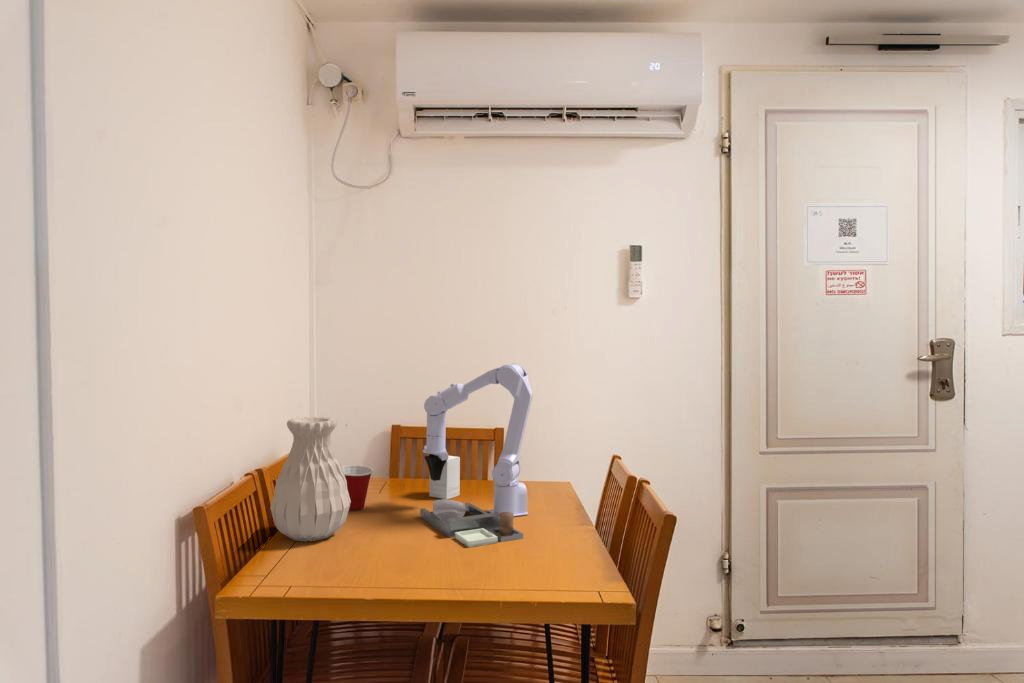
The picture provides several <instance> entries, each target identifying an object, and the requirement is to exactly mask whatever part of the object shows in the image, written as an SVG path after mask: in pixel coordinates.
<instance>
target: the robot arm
mask: <svg viewBox="0 0 1024 683" xmlns="http://www.w3.org/2000/svg"><path fill="white" fill-rule="evenodd" d="M499 384H500V386H502V387H503V388H505V389H506V390H507V391H509V393H510V395H511V396H512V397H513V399H514V401H513V404H512V409H511V411H510V412H511V413H510V417H509V421H508V426H507V430H506V434H505V438H504V443H503V446H502V447H503V448H502V451H501V453H500V454H499V457H498V460H497V464H496V465H495V466H494V467H493V468H492V473H491V477H492V479H493V481H494V482H493V509H488V512H487V513H496V512H497V513H499V514H500V513H501V512H511V513H513V518H514V517H520V516H526V515H529V512H528V490H527V486H526V484H525V483H524V482H522V481H519V479H518V477H519V475H520V474H521V464H520V459H521V454H520V451H521V447H522V444H523V441H524V440H523V439H524V435H525V430H526V426H527V422H528V417H529V414H530V409H531V405H532V401H533V396H534V394H533V390H532V388H531V384H530V380H529V376H528V372H527V371H526V370H525V369H524V367H523V366H522V365H521V364H518V363H514V362H513V363H511V364H504V365H501V366H500V367H496V368H493V369H491V370H490V369H489V370H488V371H486V372H484V373H483V374H481V375H479V376H477V377H476V378H474V379H472V380H469V382H467V383H465V384H463V383H459V382H457V383H456V382H454V383H451V384H450V385H449V386H450V387H448V388H446V389H444V390H438V391H437V393H436V395H431V396H429V397H428V398H426V399H425V400H424V404H423V408H424V410H425V412H426V444H425V445H424V446H423V449H422V453H424V454H428V455H424V458H423V459H424V460H425V462H426V464H427V467H428V471H429V472H430V477H431V480H433V481H437V480H440V478H441V474H442V470H443V467H444V465H445V463H446V461H447V460H448V456H449V452H447V449H446V436H447V434H446V433H447V432H446V430H447V428H446V427H447V424H446V423H447V420H446V418H447V417H446V415H447V414H446V413H447V411H448V410H450V409H452V408H455V407H456V406H458V405H460V404H462V403H464V402H466V401H467V400H468V398H469V396H470V394H472V393H475V392H476V391H478V390H480V389H483V388H485V387H487V386H489V385H499Z"/></svg>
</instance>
